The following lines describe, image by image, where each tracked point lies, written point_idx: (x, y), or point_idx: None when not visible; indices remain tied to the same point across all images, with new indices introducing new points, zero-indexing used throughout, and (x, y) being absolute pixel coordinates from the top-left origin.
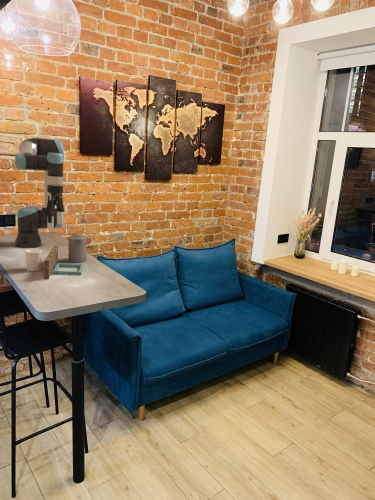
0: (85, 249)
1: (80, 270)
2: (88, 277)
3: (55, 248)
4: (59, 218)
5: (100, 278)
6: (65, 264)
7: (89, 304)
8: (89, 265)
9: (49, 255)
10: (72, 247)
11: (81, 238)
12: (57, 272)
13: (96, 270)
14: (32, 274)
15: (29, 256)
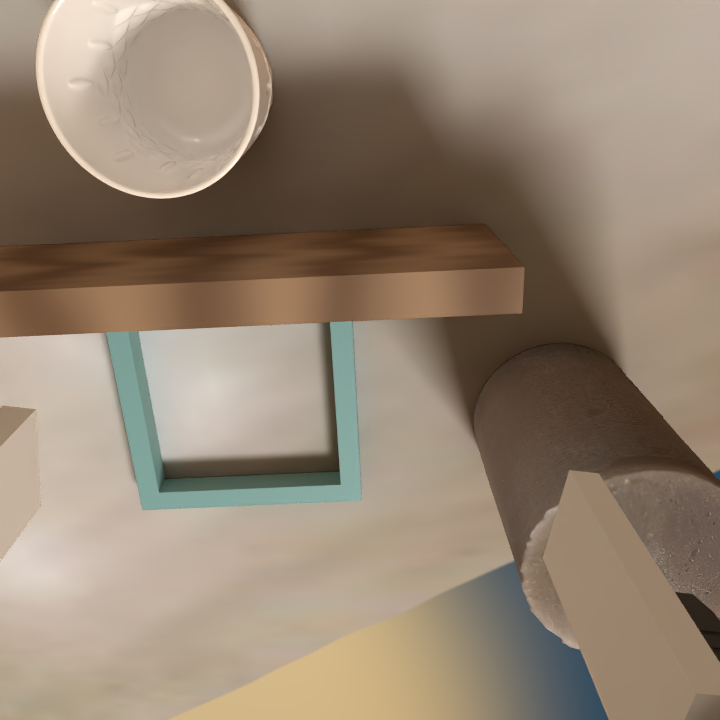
0: None
1: (182, 501)
2: (108, 547)
3: (398, 308)
4: (597, 602)
5: (110, 617)
6: (333, 362)
7: None
8: (405, 523)
9: (75, 306)
10: (513, 462)
11: (558, 615)
12: (111, 333)
13: (284, 579)
14: None
15: (64, 54)
